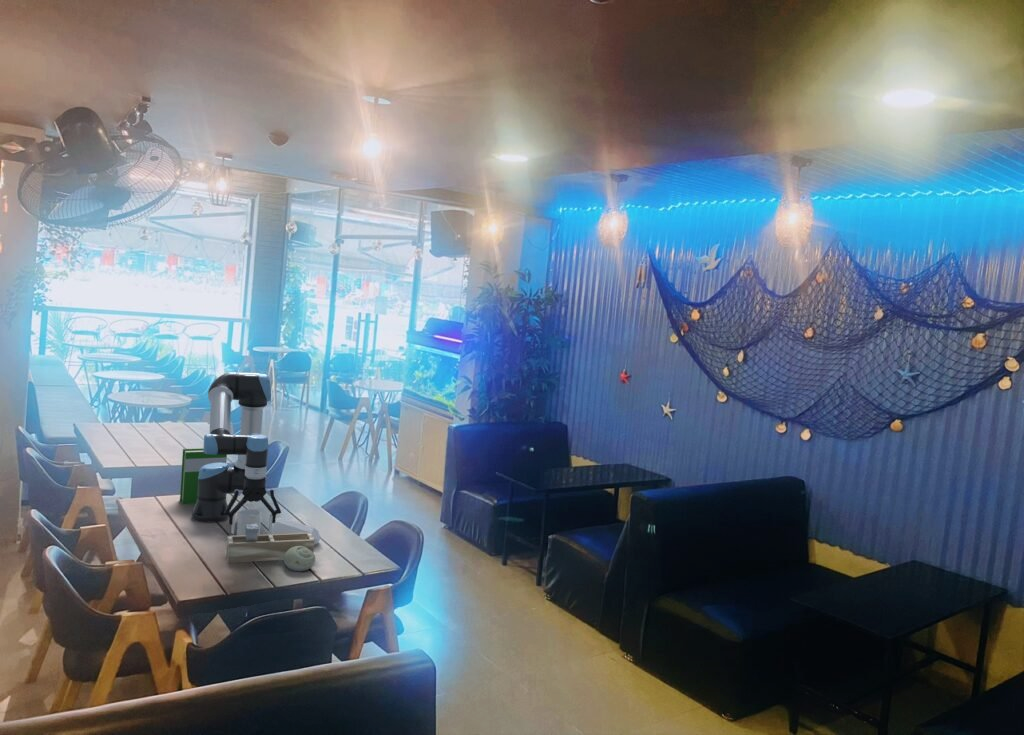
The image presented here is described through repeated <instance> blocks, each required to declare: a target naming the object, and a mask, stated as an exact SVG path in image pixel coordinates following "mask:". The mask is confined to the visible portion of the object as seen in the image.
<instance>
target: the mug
mask: <svg viewBox="0 0 1024 735" xmlns="http://www.w3.org/2000/svg"><path fill="white" fill-rule="evenodd" d="M246 524H257V525H258V528H259V530H258V535H259V534H261V528H262V526H261V524H262V511H261V510H259V509H254V508H247V509H246V508H245V509H241V510H238V511H237V522H236V535H245V532H246Z"/></svg>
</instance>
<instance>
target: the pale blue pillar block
mask: <svg viewBox="0 0 1024 735" xmlns="http://www.w3.org/2000/svg"><path fill="white" fill-rule="evenodd" d="M258 530H259V528H258V525H257V524H246V532H245V542H257V537H258Z"/></svg>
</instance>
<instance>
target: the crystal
mask: <svg viewBox="0 0 1024 735" xmlns="http://www.w3.org/2000/svg"><path fill="white" fill-rule="evenodd" d="M308 532H311V534H312V536H313V538H314V546H316V545H318V544H319V542H320V539H321V535H320V533H319V530H317V528H315V527H313V526H310V525H306V524H302V523H299V522H296V521H293V520H289V519H286V518H283V517H280V516H278V517H277V518H275V523H272V532H271V533H270V534H284V533H308Z"/></svg>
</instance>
